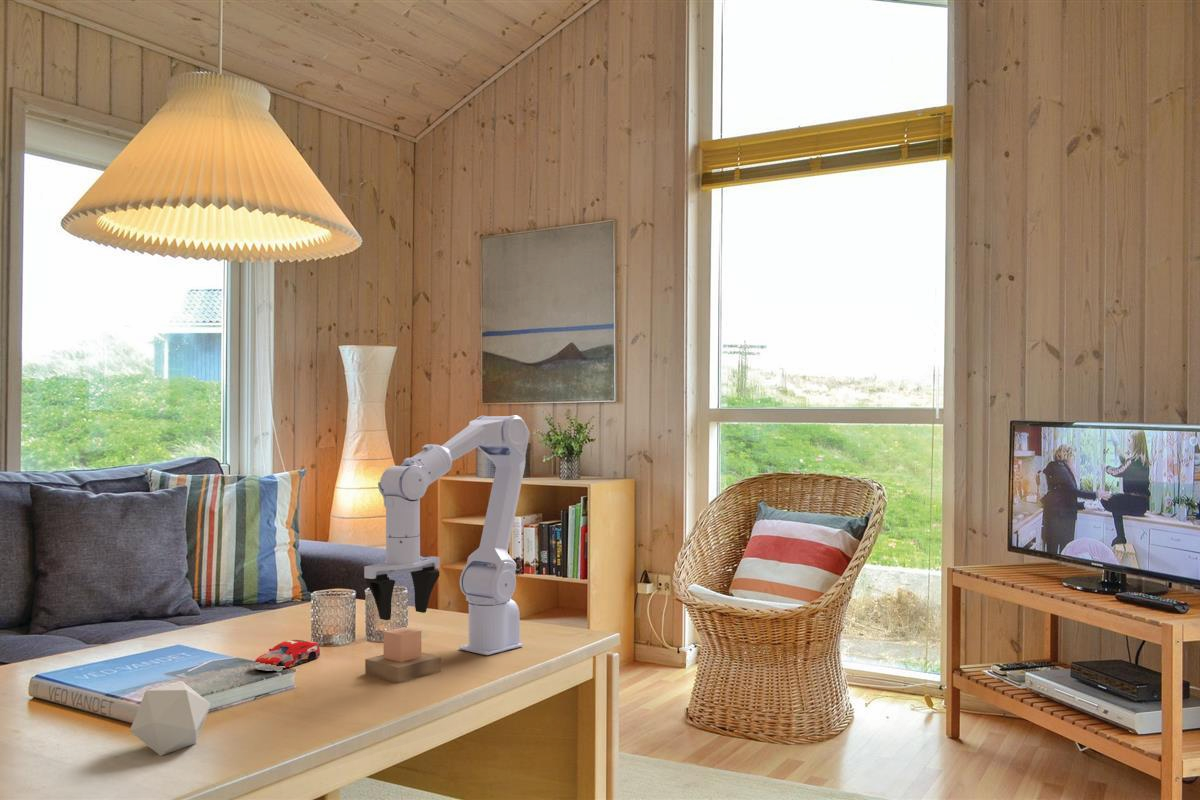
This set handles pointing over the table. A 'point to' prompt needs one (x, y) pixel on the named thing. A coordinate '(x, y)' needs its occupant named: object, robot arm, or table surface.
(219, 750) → the table surface
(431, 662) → the walnut block
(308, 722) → the table surface
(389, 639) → the terracotta cube
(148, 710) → the die
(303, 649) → the race car
